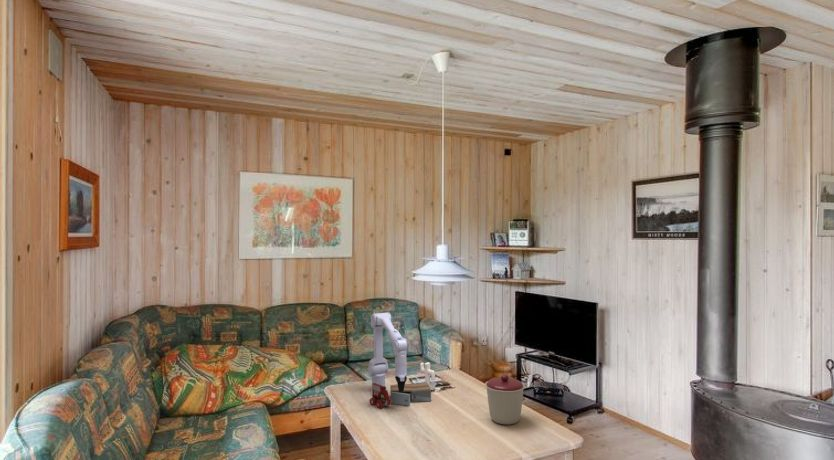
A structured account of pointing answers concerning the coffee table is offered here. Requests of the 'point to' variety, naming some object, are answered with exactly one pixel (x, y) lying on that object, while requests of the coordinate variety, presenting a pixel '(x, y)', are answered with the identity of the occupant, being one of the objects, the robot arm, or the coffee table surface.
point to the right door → (401, 398)
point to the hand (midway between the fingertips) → (401, 391)
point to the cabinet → (414, 391)
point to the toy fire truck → (379, 396)
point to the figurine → (428, 374)
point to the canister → (505, 399)
